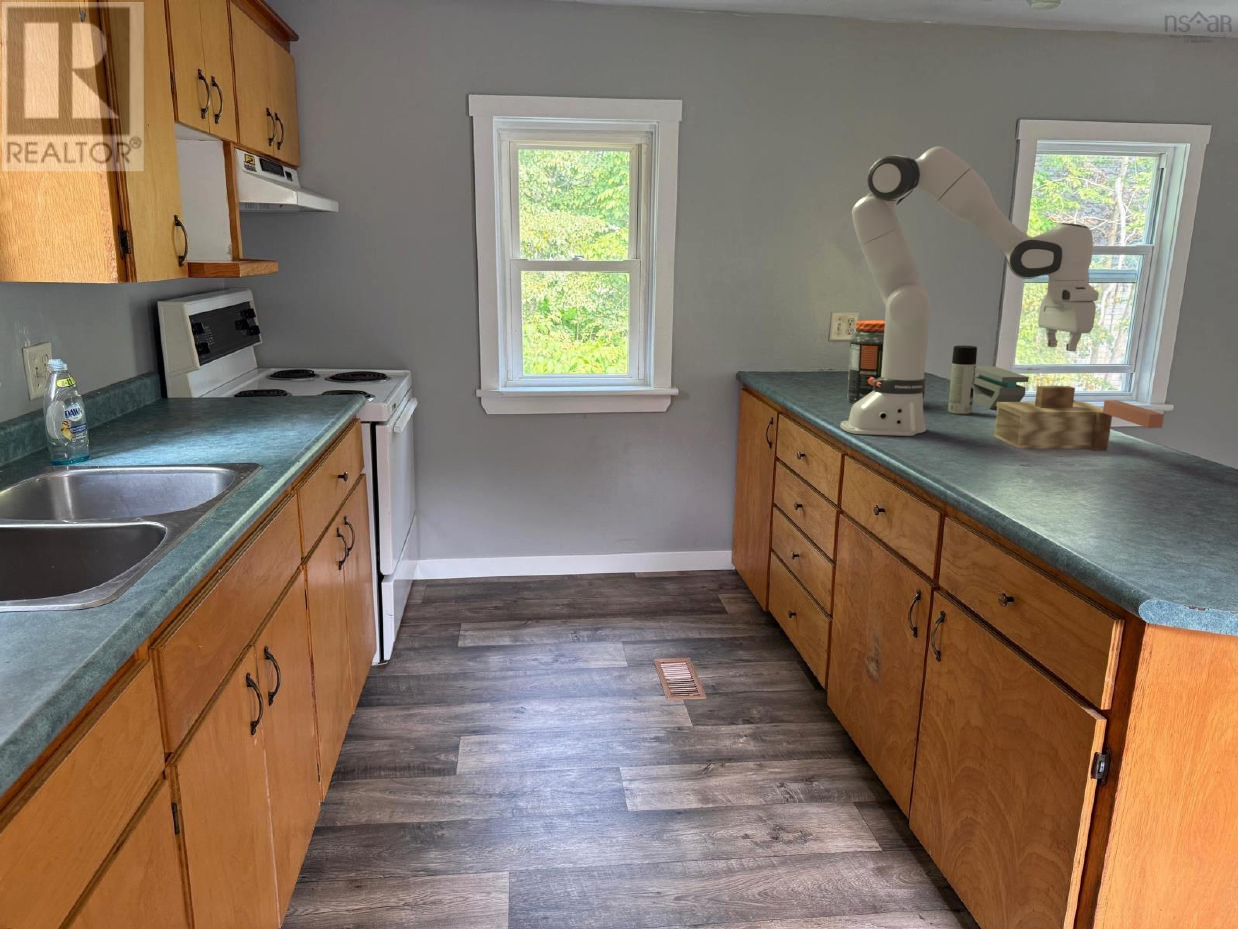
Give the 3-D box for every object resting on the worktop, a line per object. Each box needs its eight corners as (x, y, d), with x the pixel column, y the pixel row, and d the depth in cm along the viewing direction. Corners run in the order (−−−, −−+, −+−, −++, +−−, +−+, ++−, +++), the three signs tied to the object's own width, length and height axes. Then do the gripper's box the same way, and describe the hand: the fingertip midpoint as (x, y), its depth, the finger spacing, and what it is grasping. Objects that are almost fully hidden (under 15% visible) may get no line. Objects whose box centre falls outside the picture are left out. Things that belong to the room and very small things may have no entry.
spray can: (973, 415, 252) (980, 347, 247) (949, 414, 253) (955, 347, 248) (969, 411, 258) (975, 345, 253) (945, 410, 259) (951, 344, 254)
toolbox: (1022, 450, 207) (1027, 413, 204) (990, 434, 225) (994, 400, 222) (1113, 450, 207) (1118, 412, 204) (1073, 434, 225) (1078, 399, 222)
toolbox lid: (1020, 422, 207) (1024, 391, 205) (995, 412, 221) (998, 382, 219) (1112, 422, 207) (1117, 391, 205) (1081, 411, 221) (1085, 382, 219)
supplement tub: (891, 398, 281) (897, 319, 274) (902, 406, 266) (908, 323, 259) (842, 397, 282) (847, 319, 276) (850, 406, 267) (855, 323, 261)
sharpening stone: (1024, 413, 255) (1028, 377, 252) (998, 413, 255) (1002, 377, 252) (990, 399, 279) (993, 366, 276) (966, 399, 279) (969, 366, 276)
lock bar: (1148, 427, 185) (1150, 414, 185) (1102, 412, 203) (1104, 400, 202) (1161, 427, 185) (1163, 414, 185) (1115, 412, 203) (1117, 400, 202)
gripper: (1034, 290, 217) (1028, 344, 220) (1075, 294, 197) (1069, 353, 200) (1059, 290, 217) (1053, 344, 220) (1103, 293, 197) (1096, 353, 200)
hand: (1061, 348), depth 210 cm, fingers open, 8 cm apart
